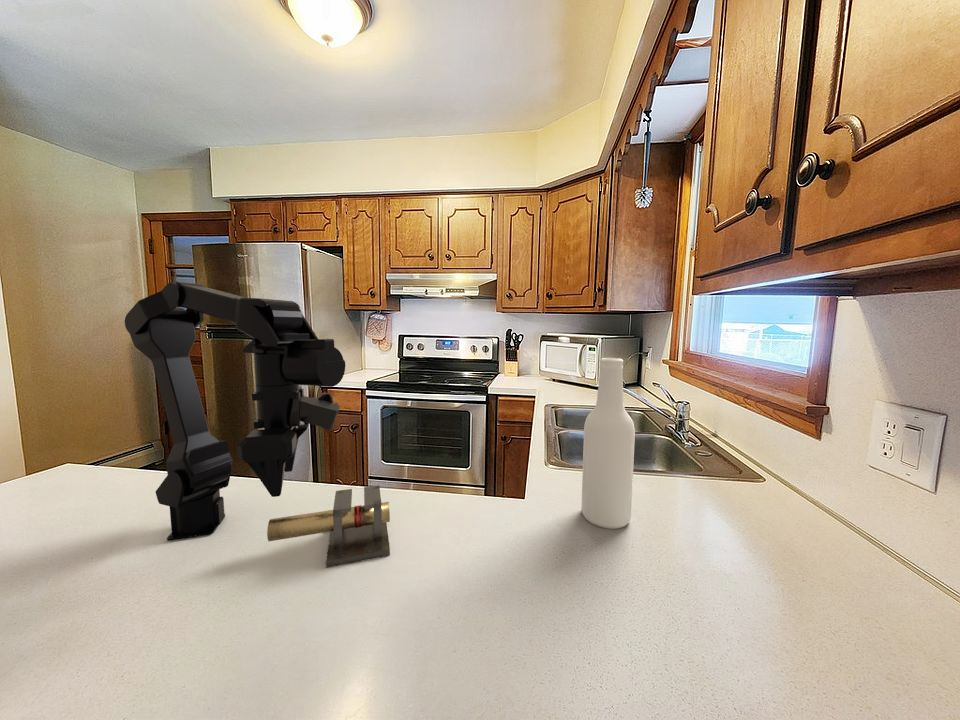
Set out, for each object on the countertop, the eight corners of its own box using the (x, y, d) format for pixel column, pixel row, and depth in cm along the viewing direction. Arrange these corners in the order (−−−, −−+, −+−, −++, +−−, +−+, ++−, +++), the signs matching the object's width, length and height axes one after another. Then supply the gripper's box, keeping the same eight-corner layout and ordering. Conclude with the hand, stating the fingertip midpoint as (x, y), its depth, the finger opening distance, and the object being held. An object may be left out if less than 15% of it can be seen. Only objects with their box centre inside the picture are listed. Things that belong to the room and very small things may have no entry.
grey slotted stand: (326, 567, 53) (324, 520, 52) (332, 524, 64) (330, 485, 63) (389, 555, 56) (389, 510, 55) (385, 516, 67) (384, 478, 66)
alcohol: (624, 536, 61) (632, 362, 58) (574, 520, 66) (579, 359, 63) (635, 514, 68) (642, 358, 65) (589, 501, 73) (594, 355, 70)
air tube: (267, 546, 54) (266, 525, 54) (273, 534, 57) (271, 514, 57) (389, 526, 60) (389, 506, 59) (388, 516, 63) (388, 497, 63)
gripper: (330, 390, 48) (334, 502, 49) (338, 373, 65) (341, 456, 67) (232, 396, 44) (240, 516, 46) (269, 376, 62) (274, 463, 63)
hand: (283, 482), depth 55 cm, fingers open, 9 cm apart
